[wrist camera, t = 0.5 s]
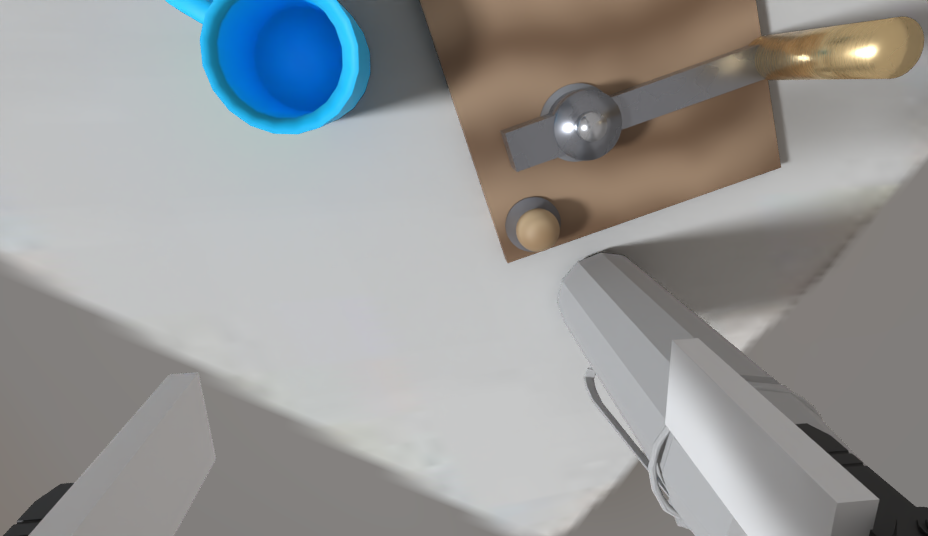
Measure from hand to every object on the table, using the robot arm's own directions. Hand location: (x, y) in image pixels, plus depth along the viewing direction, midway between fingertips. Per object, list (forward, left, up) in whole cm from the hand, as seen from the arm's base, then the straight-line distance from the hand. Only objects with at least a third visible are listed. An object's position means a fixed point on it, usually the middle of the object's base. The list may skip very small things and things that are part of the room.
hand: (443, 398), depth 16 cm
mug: (-13, -5, -27) cm, 30 cm away
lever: (-2, +16, -25) cm, 30 cm away
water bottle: (+12, +10, -27) cm, 31 cm away
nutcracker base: (-8, +15, -27) cm, 31 cm away
